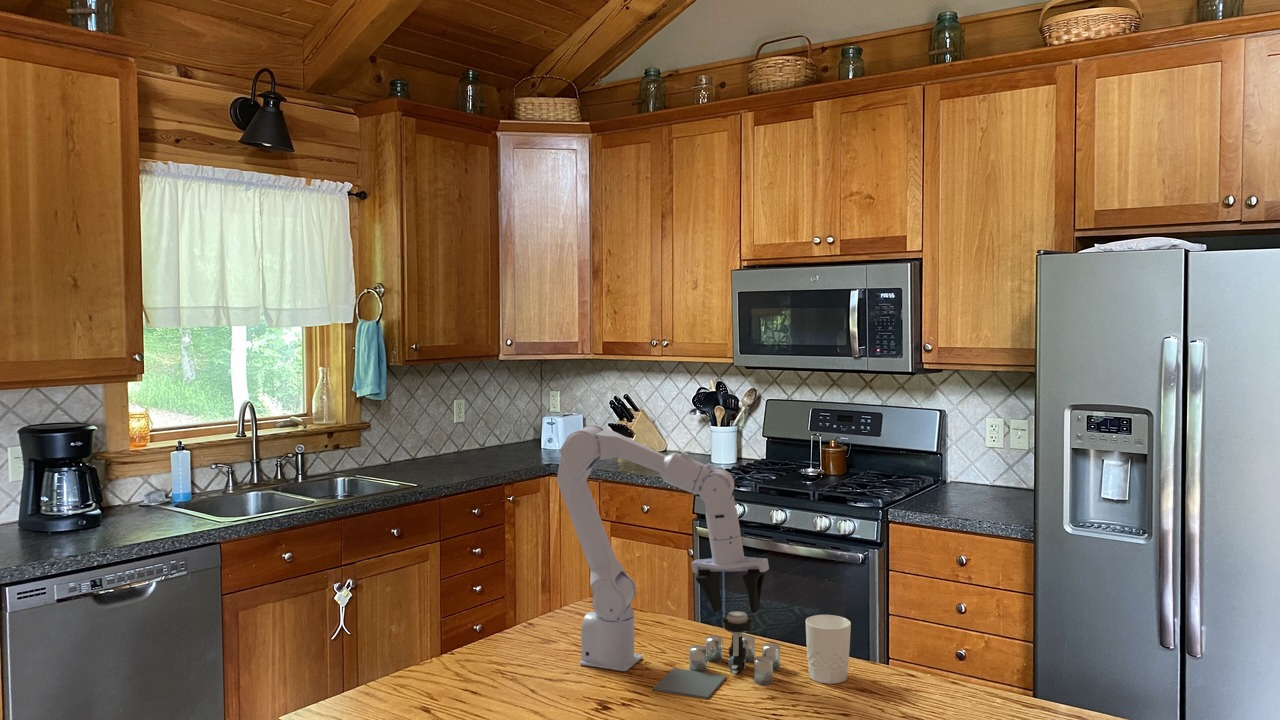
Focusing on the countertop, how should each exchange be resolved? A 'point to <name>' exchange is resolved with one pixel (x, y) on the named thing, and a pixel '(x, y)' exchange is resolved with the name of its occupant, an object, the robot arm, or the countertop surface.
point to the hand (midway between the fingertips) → (736, 610)
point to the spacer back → (749, 647)
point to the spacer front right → (763, 670)
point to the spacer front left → (698, 658)
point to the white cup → (828, 648)
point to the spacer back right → (772, 654)
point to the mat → (690, 683)
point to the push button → (737, 638)
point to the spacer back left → (714, 648)
